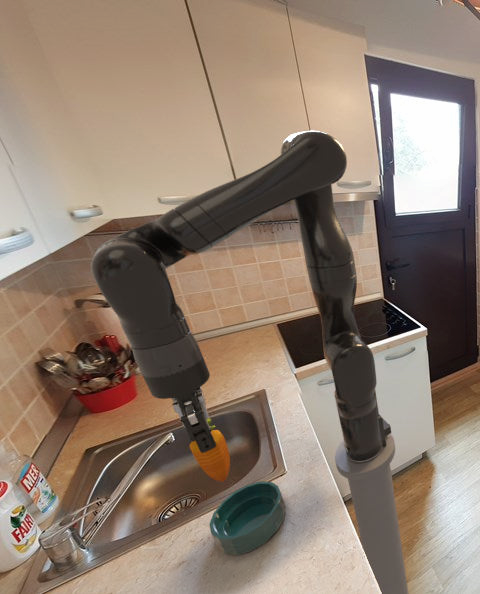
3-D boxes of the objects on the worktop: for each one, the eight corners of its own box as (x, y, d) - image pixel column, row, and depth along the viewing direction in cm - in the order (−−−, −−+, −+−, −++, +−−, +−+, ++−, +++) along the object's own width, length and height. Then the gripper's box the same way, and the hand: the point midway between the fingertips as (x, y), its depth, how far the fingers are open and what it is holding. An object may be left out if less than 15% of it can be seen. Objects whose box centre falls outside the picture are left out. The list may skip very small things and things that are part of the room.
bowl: (277, 488, 78) (272, 471, 76) (293, 526, 70) (287, 508, 68) (214, 524, 70) (206, 506, 68) (223, 571, 62) (214, 553, 60)
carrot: (201, 489, 62) (172, 428, 56) (225, 467, 67) (200, 409, 61) (222, 495, 61) (194, 434, 55) (245, 472, 66) (222, 413, 60)
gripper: (207, 370, 51) (239, 451, 58) (196, 338, 61) (225, 410, 67) (140, 392, 46) (183, 478, 53) (140, 353, 56) (177, 430, 62)
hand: (206, 440), depth 60 cm, fingers closed on carrot, 4 cm apart
